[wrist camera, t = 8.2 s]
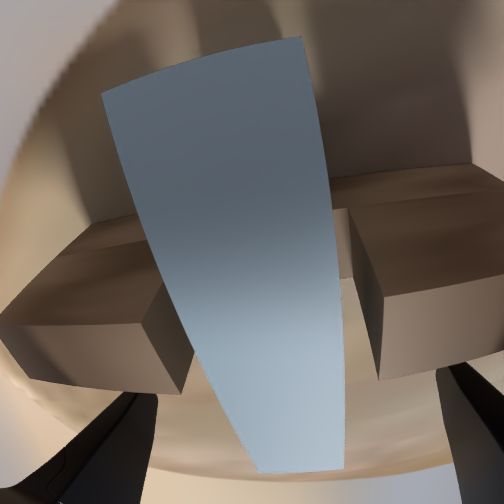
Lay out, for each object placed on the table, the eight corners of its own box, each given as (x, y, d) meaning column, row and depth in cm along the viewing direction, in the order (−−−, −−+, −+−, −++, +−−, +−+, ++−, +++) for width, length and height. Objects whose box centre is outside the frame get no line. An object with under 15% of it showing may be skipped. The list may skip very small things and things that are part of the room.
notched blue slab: (291, 67, 8) (301, 36, 3) (332, 333, 13) (343, 468, 7) (208, 85, 9) (100, 93, 3) (272, 340, 13) (259, 473, 8)
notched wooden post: (472, 163, 9) (593, 249, 3) (471, 217, 10) (567, 325, 4) (91, 224, 11) (-9, 324, 6) (109, 268, 12) (29, 378, 7)
